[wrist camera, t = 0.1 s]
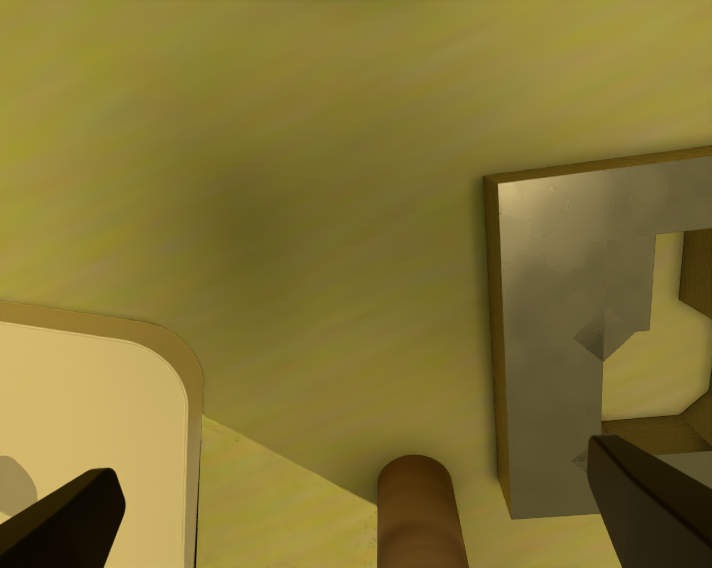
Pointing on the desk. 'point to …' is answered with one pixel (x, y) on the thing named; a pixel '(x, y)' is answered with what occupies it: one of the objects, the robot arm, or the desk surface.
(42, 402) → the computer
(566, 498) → the keyhole plate
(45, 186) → the desk surface
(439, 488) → the walnut peg
